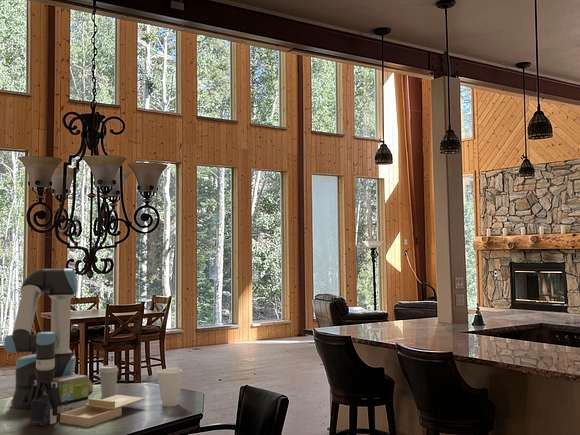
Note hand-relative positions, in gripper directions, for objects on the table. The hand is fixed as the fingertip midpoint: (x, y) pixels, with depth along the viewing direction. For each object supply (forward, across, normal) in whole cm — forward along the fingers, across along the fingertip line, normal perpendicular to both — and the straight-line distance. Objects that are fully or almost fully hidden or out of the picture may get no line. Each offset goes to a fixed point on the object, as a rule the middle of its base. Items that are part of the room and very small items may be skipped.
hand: (44, 421), depth 263 cm
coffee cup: (0, -8, +47) cm, 48 cm away
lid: (-4, +14, +28) cm, 32 cm away
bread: (+1, -32, +48) cm, 58 cm away
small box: (0, 0, 0) cm, 0 cm away
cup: (0, +30, +47) cm, 56 cm away
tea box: (0, -8, +21) cm, 23 cm away
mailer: (0, +14, +13) cm, 19 cm away
